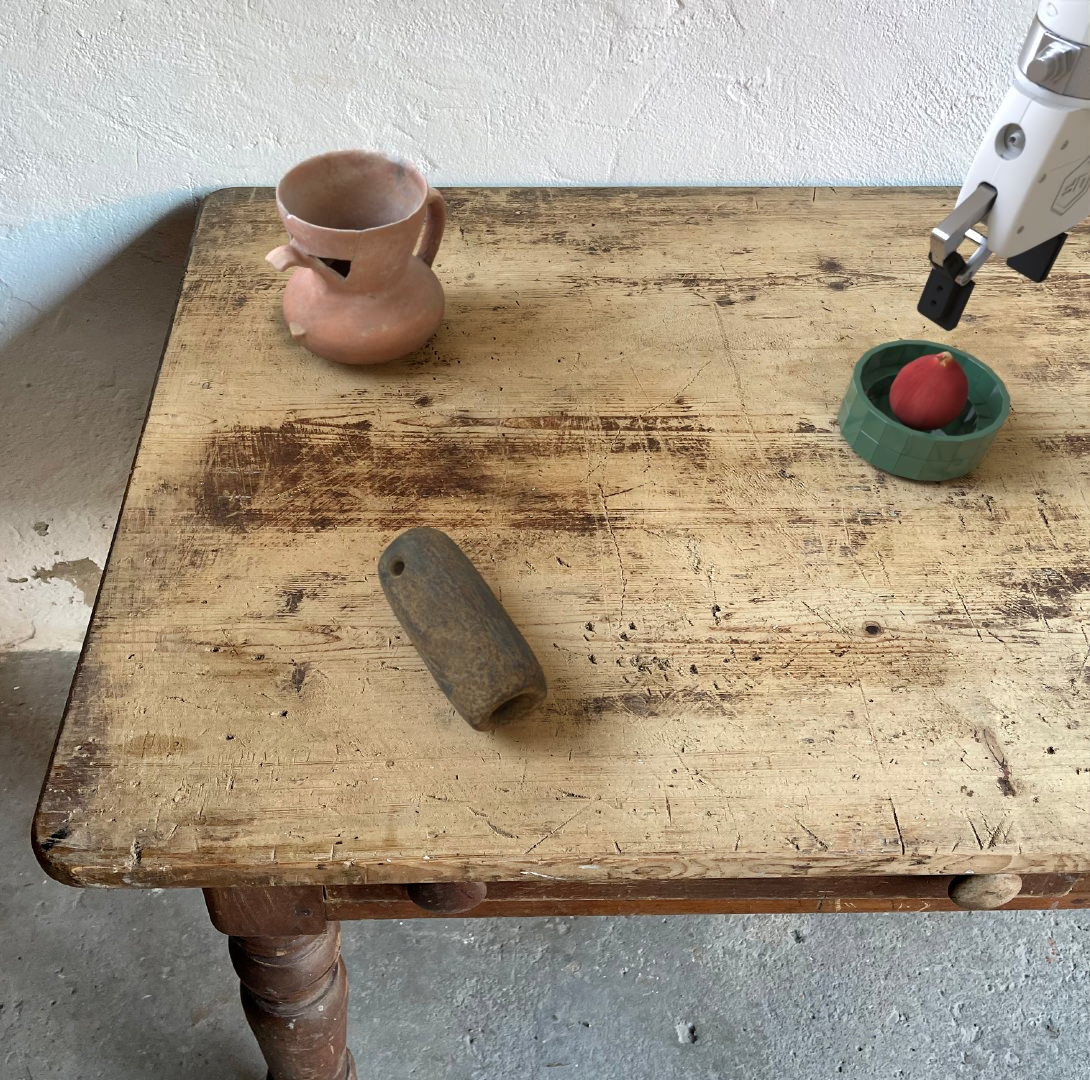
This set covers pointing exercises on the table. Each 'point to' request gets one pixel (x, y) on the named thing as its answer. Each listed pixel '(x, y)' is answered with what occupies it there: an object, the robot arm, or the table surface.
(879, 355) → the bowl
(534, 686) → the stone weight
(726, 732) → the table surface
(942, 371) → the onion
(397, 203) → the ceramic jug
